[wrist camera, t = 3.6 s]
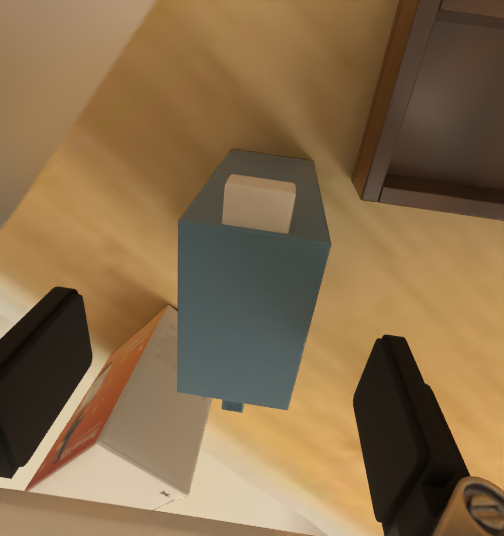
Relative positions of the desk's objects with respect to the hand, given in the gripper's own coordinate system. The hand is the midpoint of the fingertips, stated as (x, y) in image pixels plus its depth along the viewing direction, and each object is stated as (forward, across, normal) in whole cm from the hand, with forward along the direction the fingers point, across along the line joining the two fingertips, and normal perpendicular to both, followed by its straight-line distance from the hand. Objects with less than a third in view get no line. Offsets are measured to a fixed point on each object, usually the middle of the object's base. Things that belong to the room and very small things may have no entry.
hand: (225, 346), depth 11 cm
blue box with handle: (+11, -1, 0) cm, 11 cm away
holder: (+11, -11, -7) cm, 17 cm away
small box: (+11, +5, +12) cm, 17 cm away
